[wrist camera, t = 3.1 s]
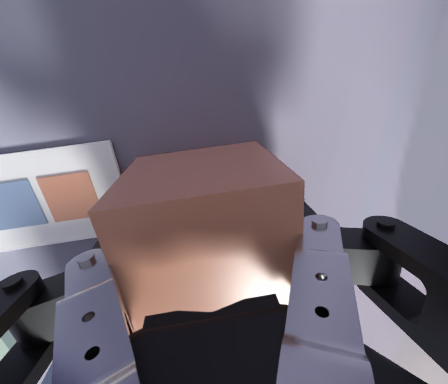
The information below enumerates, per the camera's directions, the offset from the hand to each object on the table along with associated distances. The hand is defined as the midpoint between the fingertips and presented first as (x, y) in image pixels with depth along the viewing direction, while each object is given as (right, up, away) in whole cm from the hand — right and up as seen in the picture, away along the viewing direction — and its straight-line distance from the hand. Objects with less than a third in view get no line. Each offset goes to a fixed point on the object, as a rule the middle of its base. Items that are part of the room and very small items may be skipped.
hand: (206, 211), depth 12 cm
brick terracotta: (0, 0, +1) cm, 1 cm away
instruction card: (-8, +1, 0) cm, 8 cm away
